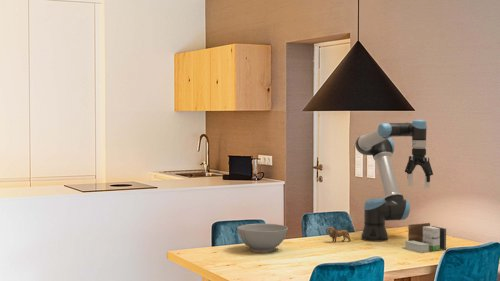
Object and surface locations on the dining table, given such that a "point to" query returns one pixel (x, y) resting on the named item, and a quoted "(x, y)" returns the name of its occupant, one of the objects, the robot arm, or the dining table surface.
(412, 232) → the shelf
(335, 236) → the lion figurine
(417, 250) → the flat grey box
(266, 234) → the decorative bowl
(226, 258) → the dining table surface
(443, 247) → the bookend
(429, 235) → the ink box
